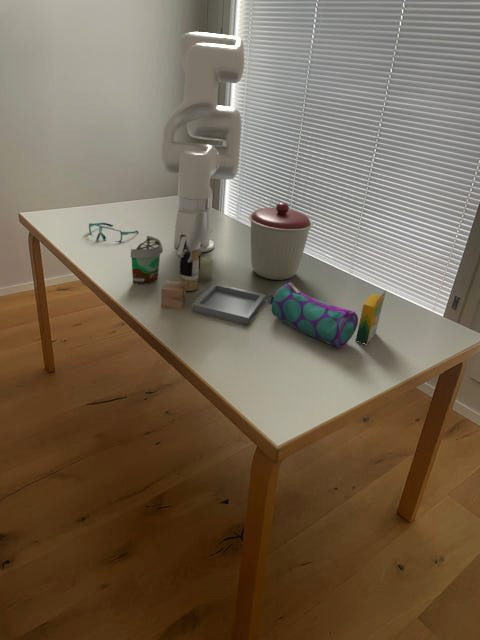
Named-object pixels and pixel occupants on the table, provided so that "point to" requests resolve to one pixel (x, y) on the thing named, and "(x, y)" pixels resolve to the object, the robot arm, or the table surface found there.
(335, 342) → the pencil case
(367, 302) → the crayon box
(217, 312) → the slate tray
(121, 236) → the teal glasses
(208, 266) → the olive cylinder
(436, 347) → the table surface
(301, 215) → the canister
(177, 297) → the brown wooden cube
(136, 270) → the food container
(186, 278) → the sprinkles bottle
